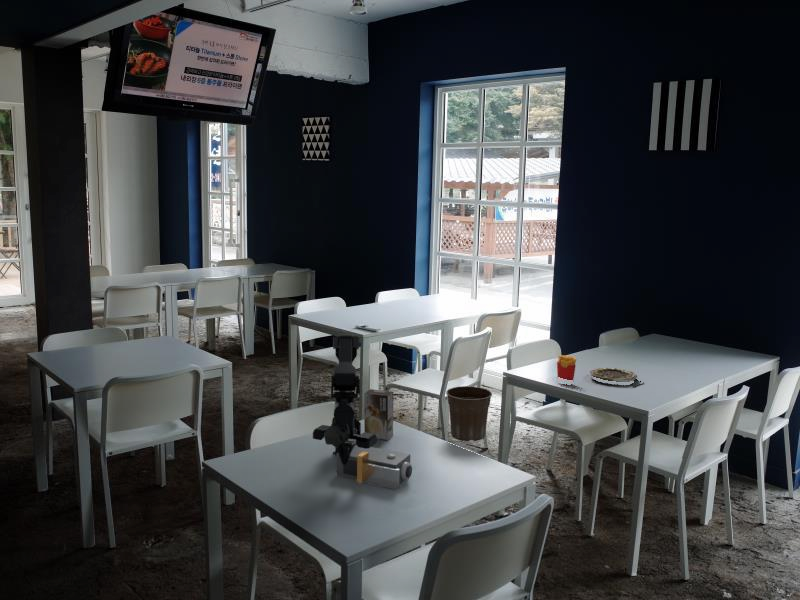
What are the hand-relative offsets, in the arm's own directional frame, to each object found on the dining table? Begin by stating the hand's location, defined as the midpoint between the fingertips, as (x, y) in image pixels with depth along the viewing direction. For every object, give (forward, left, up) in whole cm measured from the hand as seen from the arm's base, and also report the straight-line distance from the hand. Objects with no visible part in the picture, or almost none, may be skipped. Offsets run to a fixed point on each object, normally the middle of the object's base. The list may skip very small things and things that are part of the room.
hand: (344, 464), depth 210 cm
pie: (+51, +164, -7) cm, 171 cm away
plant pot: (+18, +57, -6) cm, 60 cm away
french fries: (+33, +147, -6) cm, 151 cm away
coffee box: (-10, +42, -6) cm, 43 cm away
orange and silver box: (+11, +1, -5) cm, 12 cm away
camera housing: (+6, +9, -6) cm, 12 cm away
